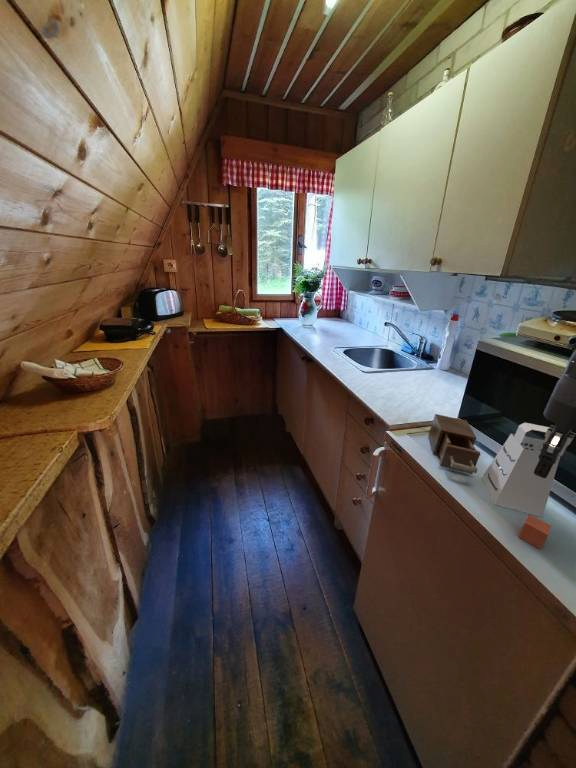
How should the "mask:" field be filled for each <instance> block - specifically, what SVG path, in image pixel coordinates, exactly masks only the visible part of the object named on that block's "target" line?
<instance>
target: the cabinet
mask: <svg viewBox="0 0 576 768" xmlns="http://www.w3.org/2000/svg"><path fill="white" fill-rule="evenodd" d="M443 433H446V434H450V435H455V436H459V437H464V438H468V439H470V440H471V442H472V444H473V446H474V445H475V443H476V441H477V436H476V434H475V432H474V431H473V428H472V427H471V425H470V424H469V422H468V420H467V419H461V418H456V417H452V416H447V415H442V414H437V413H435V414H434V416H433V420H432V423H431V425H430V430H429V432H428V436H427V437H428V442H429V444H430V448H431V452H432V455H434V456H438V457H440V455H439V451H438V447H439V444H440V441H441V438H442V435H443ZM474 447H475V446H474Z"/></svg>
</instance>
